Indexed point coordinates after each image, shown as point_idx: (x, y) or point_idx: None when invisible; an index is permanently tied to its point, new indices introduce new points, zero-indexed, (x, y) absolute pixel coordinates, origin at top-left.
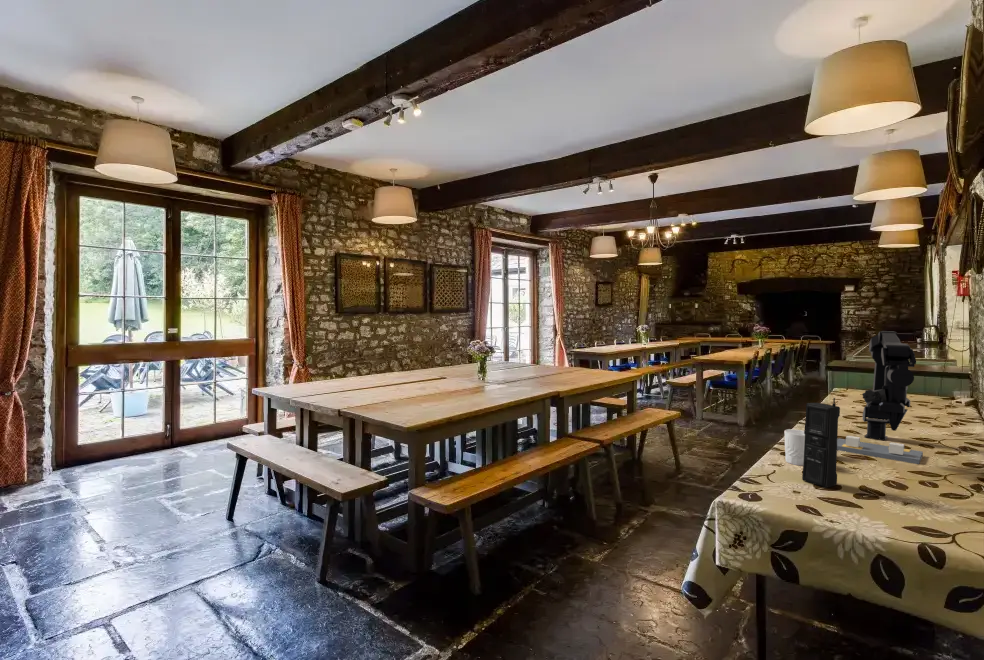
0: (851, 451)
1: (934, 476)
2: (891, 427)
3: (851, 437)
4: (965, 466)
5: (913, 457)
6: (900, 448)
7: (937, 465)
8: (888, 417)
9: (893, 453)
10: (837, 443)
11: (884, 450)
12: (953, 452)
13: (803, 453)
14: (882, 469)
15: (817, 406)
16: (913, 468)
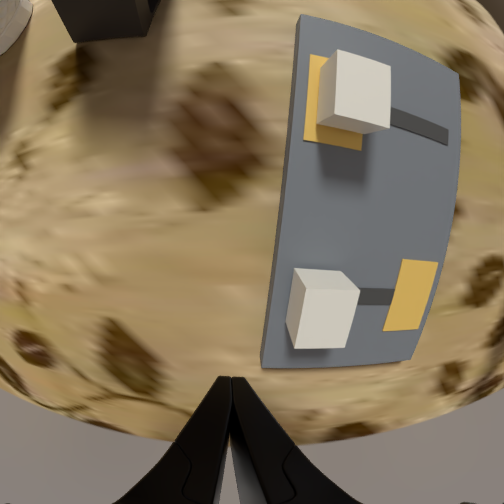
0: (291, 99)
1: (117, 379)
2: (209, 392)
3: (349, 77)
4: (324, 431)
5: (289, 351)
6: (294, 329)
7: (287, 393)
8: (150, 471)
9: (291, 286)
10: (360, 44)
11: (359, 245)
12: (460, 385)
13: None
14: (64, 243)
15: None
16: (171, 339)
